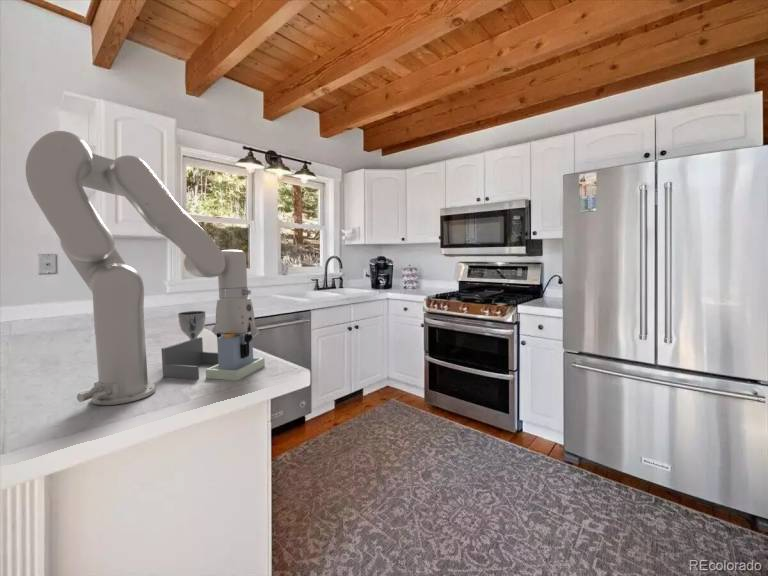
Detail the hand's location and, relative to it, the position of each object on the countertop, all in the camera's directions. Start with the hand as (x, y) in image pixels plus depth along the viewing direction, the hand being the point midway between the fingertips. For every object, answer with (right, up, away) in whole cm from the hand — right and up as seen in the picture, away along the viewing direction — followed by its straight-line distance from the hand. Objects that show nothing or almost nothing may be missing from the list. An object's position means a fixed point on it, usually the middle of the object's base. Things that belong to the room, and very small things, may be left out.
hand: (236, 355), depth 105 cm
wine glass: (-21, -4, +17) cm, 27 cm away
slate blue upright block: (0, -3, 0) cm, 3 cm away
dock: (-11, -5, +2) cm, 12 cm away
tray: (0, -5, 0) cm, 5 cm away
